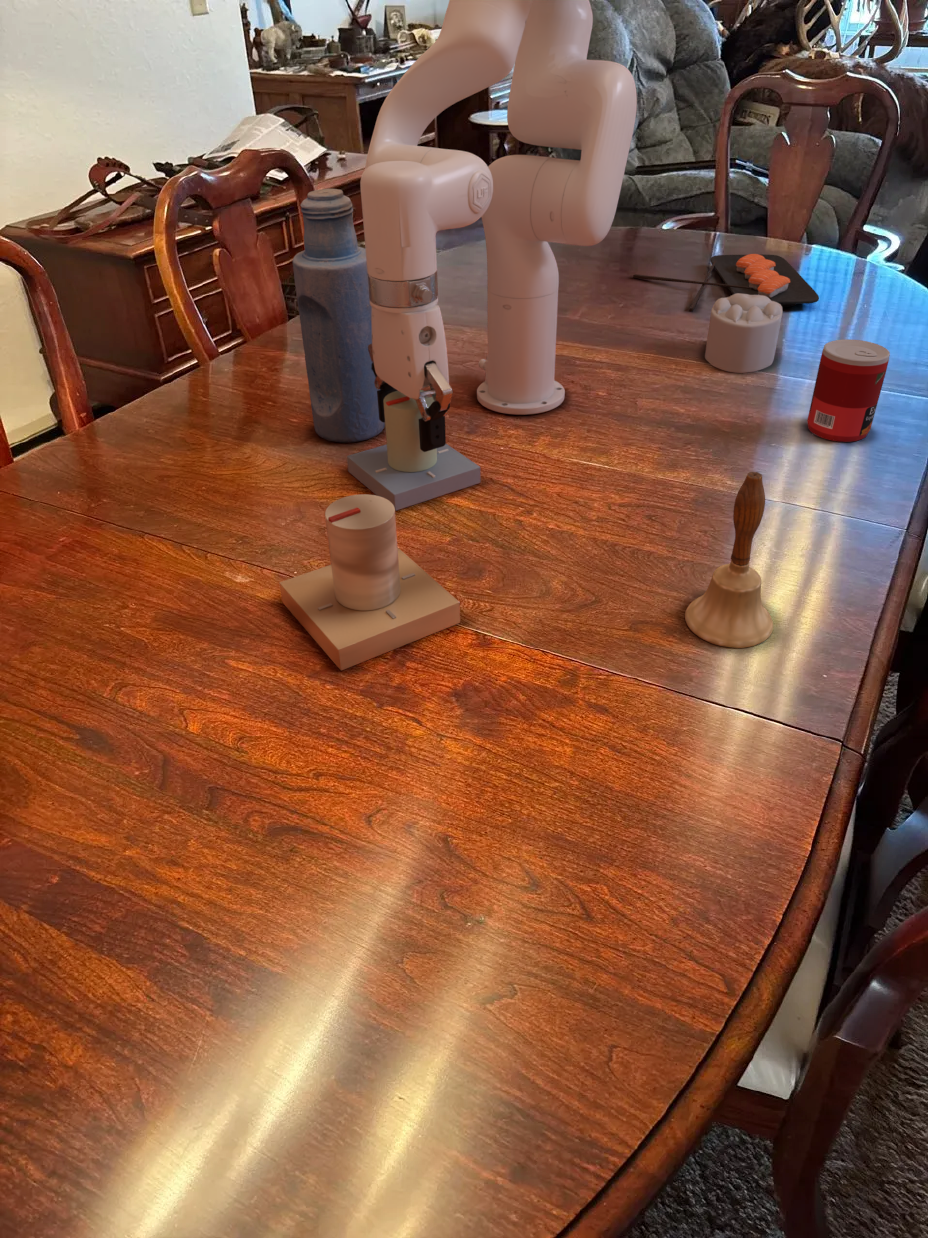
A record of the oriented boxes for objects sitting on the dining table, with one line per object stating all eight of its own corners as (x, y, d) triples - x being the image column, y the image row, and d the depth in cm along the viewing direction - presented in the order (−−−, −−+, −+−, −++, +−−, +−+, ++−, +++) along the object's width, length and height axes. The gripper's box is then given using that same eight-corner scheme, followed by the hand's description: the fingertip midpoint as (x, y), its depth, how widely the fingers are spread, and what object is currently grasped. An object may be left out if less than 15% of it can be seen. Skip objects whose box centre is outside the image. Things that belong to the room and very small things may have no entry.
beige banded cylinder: (378, 566, 93) (371, 484, 88) (413, 595, 89) (408, 511, 84) (322, 587, 90) (311, 504, 85) (356, 618, 86) (346, 533, 81)
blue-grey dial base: (347, 471, 115) (346, 454, 114) (429, 447, 120) (429, 430, 119) (395, 511, 107) (394, 493, 106) (480, 482, 112) (480, 465, 111)
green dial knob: (420, 445, 116) (417, 382, 111) (446, 463, 112) (444, 398, 107) (379, 458, 113) (373, 394, 108) (404, 477, 109) (400, 411, 104)
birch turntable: (282, 602, 93) (278, 580, 91) (394, 562, 98) (392, 541, 97) (340, 671, 84) (338, 648, 82) (460, 622, 90) (459, 600, 88)
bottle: (400, 426, 126) (385, 189, 108) (345, 451, 120) (320, 204, 102) (354, 407, 131) (332, 178, 113) (299, 430, 125) (267, 192, 107)
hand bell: (757, 658, 84) (791, 506, 75) (671, 630, 88) (693, 481, 78) (783, 612, 90) (818, 465, 80) (702, 588, 94) (726, 444, 84)
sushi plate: (822, 311, 160) (827, 289, 158) (649, 314, 161) (651, 292, 158) (778, 263, 183) (782, 243, 181) (627, 265, 184) (629, 245, 182)
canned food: (873, 445, 119) (895, 362, 112) (808, 440, 120) (826, 358, 113) (864, 420, 125) (885, 340, 118) (803, 416, 126) (820, 337, 119)
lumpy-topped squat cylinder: (777, 346, 147) (787, 291, 142) (769, 376, 137) (780, 318, 132) (711, 339, 150) (718, 285, 145) (698, 368, 140) (706, 311, 135)
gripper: (476, 302, 96) (477, 451, 106) (394, 263, 108) (402, 401, 118) (414, 317, 93) (422, 469, 103) (336, 275, 104) (350, 416, 115)
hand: (411, 433), depth 110 cm, fingers open, 9 cm apart
